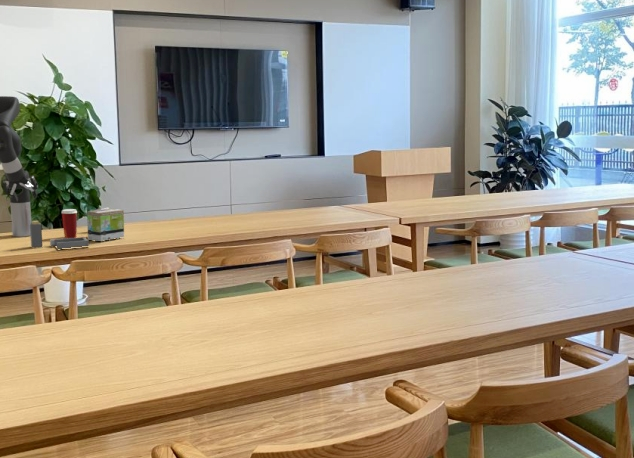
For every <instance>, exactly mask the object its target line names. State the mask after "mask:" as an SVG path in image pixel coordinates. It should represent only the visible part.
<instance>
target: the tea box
mask: <svg viewBox="0 0 634 458" xmlns="http://www.w3.org/2000/svg"><path fill="white" fill-rule="evenodd" d="M102 209H103V208H102ZM124 211H125V210H123V209H118V208H117V209H116V208H109V209H103V210H96V209H94V210H88V211H87V213H86V214H87V223H86V224H87V240H88V241H89V240H95V241H103V240H109V239H114V238H120V237H124V238H125V218H124V217H125V216H124V214H125V213H124ZM95 241H94V242H95ZM109 241H110V240H109Z"/></svg>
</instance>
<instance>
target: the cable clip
mask: <svg viewBox="0 0 634 458" xmlns="http://www.w3.org/2000/svg"><path fill="white" fill-rule="evenodd" d="M54 239H55V238H52V239H49V244H50V245H51V246H55V243H54ZM50 245H49V246H50ZM51 246H50V247H51Z"/></svg>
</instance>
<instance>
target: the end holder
mask: <svg viewBox="0 0 634 458" xmlns="http://www.w3.org/2000/svg"><path fill="white" fill-rule="evenodd" d="M53 239H54V243H55V246H57V249H62V248H71V247H82V246H90V245H89V240H88V238H86V237H85V236H81V237H80V236H79V237H76V238H65V237H64V238H53ZM57 249H56V250H57Z"/></svg>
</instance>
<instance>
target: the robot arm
mask: <svg viewBox="0 0 634 458" xmlns="http://www.w3.org/2000/svg"><path fill="white" fill-rule="evenodd" d="M20 108H21V107H20V101H19V99H18V98H17V97H15V96H12V95H11V96H4V95H3V96H2V95H1V96H0V163H1V167H2V169H3V172H4V176H5V178H4V179H5V180H3V181H2V187H3V190H4V192H5V195H11V196H10V198H9V201H10V203H9V204H10V214H11V215H10V217H11V218H10V219H11V232H12V233H11V234H12V237H19V238H20V237H21V238H23V237H31V235H30V223H32V211H31V198H30V197H31V196H30V194H32V196H33V198H34V199H36V198H37V197H38V192H37V190H38V188H39V184H38V182H37V180H36V177H35V176H34V175H31V176H30V173H29V172H28V170H24V167H23V166H22V163H21V161H20V159H19V157H20V155H21V153H22V150H23V149H22V141H21V137H20V135H19V134H18V133H17V131H16V130H15V129H14V128H13V127H12V126H11V125H12V123H13V122H14V121H15V120H16V119H17V117H18V116H19V114H20ZM20 189H21V192H20V193H16V192H15V191H16V190H20ZM30 191H31V193H30Z"/></svg>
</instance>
